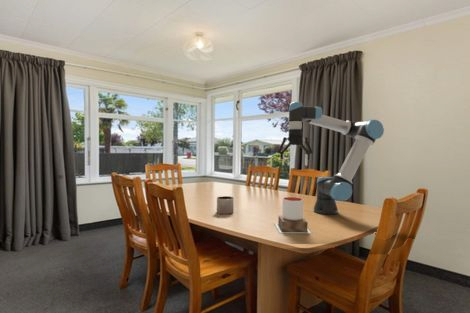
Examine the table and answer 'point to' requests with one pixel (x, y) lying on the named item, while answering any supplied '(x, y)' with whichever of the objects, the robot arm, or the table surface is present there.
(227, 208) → the planter
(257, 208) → the table surface
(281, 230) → the build board
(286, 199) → the cup
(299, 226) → the base block
